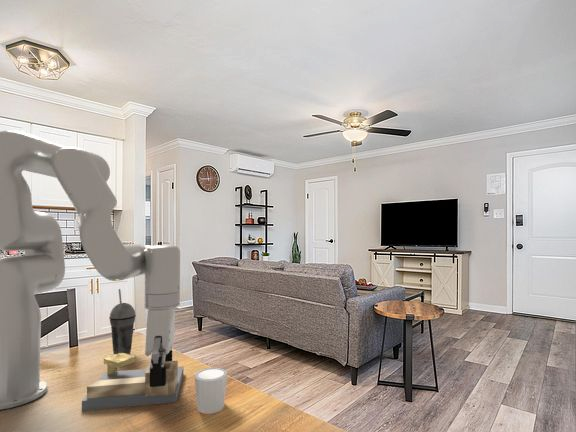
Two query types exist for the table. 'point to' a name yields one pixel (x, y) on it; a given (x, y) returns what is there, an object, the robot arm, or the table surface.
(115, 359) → the block
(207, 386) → the white cylinder
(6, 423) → the table surface
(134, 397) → the board
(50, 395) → the table surface
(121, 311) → the beverage cup
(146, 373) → the link
